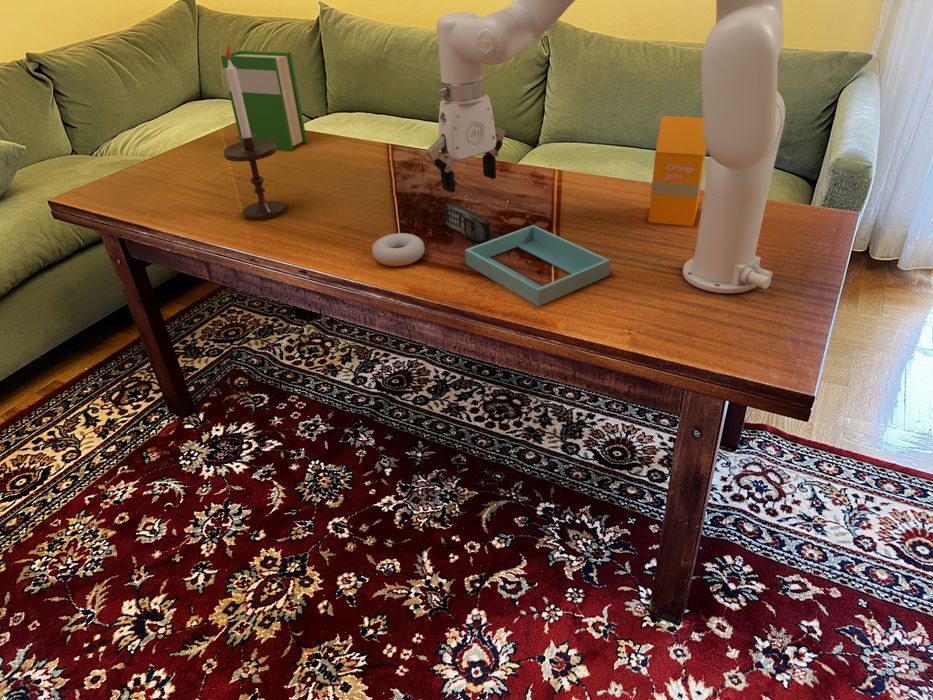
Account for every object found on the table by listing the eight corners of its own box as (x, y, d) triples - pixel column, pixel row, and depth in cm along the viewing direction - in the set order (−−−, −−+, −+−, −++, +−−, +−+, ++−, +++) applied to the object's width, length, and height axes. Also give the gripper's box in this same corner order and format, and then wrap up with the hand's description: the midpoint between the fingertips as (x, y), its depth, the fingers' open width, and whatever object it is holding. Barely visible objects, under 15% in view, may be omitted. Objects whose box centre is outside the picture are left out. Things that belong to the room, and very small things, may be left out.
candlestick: (298, 206, 153) (265, 38, 134) (268, 224, 145) (227, 49, 126) (260, 200, 157) (222, 37, 138) (229, 218, 149) (183, 47, 130)
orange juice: (653, 207, 142) (664, 110, 131) (697, 211, 140) (712, 112, 128) (647, 222, 137) (658, 121, 125) (693, 226, 134) (708, 124, 122)
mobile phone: (440, 204, 137) (486, 224, 127) (451, 200, 139) (499, 219, 129) (442, 227, 140) (488, 248, 130) (453, 223, 141) (500, 243, 131)
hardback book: (307, 142, 193) (290, 52, 180) (291, 150, 188) (273, 58, 174) (258, 137, 200) (238, 50, 186) (241, 145, 194) (220, 56, 181)
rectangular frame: (609, 275, 119) (610, 260, 117) (538, 306, 111) (538, 290, 110) (533, 238, 133) (533, 224, 131) (465, 264, 125) (464, 249, 124)
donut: (369, 251, 132) (378, 273, 124) (366, 235, 130) (375, 255, 122) (419, 243, 134) (431, 263, 126) (417, 227, 132) (429, 246, 124)
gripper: (434, 104, 113) (443, 201, 123) (514, 84, 121) (517, 176, 131) (410, 97, 119) (421, 190, 128) (488, 78, 127) (493, 168, 136)
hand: (469, 183), depth 130 cm, fingers open, 9 cm apart
